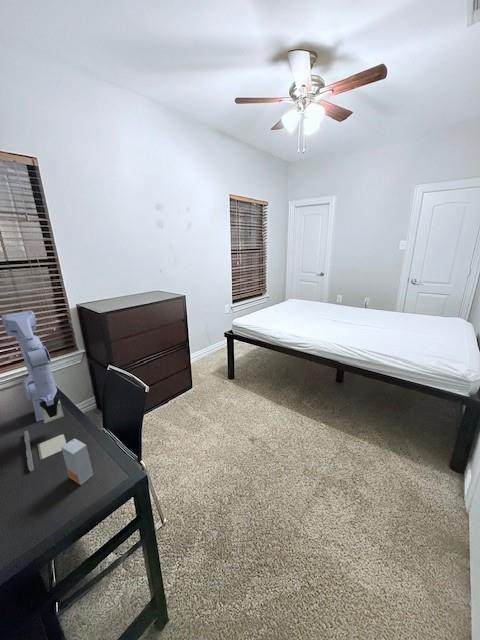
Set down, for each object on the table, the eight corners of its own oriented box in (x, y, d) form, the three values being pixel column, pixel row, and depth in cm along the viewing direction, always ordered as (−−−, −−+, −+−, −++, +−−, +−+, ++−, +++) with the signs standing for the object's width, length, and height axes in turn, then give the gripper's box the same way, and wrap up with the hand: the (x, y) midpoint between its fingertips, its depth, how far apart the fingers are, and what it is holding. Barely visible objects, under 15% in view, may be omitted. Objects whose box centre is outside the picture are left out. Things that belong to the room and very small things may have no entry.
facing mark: (37, 445, 95) (37, 444, 94) (63, 434, 100) (63, 433, 99) (40, 460, 88) (40, 459, 88) (67, 447, 93) (67, 447, 93)
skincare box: (68, 478, 81) (60, 446, 78) (82, 467, 85) (74, 437, 81) (80, 486, 79) (72, 454, 75) (94, 475, 82) (86, 444, 79)
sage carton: (43, 417, 99) (39, 404, 97) (61, 410, 103) (58, 397, 101) (44, 423, 96) (40, 409, 94) (63, 416, 100) (60, 402, 98)
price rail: (24, 435, 99) (23, 431, 99) (28, 433, 100) (27, 430, 100) (29, 472, 84) (28, 468, 83) (33, 470, 84) (32, 466, 84)
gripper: (28, 377, 97) (37, 408, 101) (31, 393, 87) (41, 427, 91) (51, 370, 102) (58, 400, 106) (57, 386, 91) (65, 418, 95)
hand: (52, 412), depth 99 cm, fingers closed on sage carton, 4 cm apart
